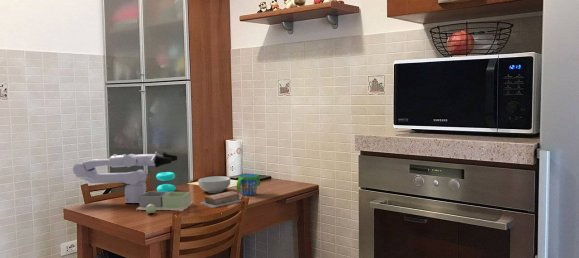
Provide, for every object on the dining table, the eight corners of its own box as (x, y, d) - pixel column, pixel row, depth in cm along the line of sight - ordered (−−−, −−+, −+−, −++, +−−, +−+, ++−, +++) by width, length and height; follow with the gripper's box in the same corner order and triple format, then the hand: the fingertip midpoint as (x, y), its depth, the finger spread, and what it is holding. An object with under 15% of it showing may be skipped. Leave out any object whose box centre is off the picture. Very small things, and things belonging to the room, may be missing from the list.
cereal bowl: (233, 188, 272) (233, 175, 271) (226, 195, 256) (226, 181, 255) (203, 188, 274) (203, 175, 273) (195, 195, 257) (194, 181, 257)
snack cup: (253, 190, 265) (253, 172, 264) (266, 193, 257) (266, 174, 256) (230, 195, 254) (230, 176, 253) (243, 198, 246) (243, 178, 245)
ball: (144, 214, 219) (143, 205, 219) (148, 212, 224) (147, 202, 223) (153, 215, 219) (153, 205, 218) (157, 212, 223) (157, 202, 223)
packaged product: (229, 189, 248) (242, 192, 241) (229, 199, 249) (242, 202, 242) (199, 195, 235) (212, 198, 228) (200, 205, 236) (212, 209, 229)
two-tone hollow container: (136, 210, 227) (135, 197, 227) (148, 203, 241) (147, 191, 240) (182, 211, 225) (182, 198, 224) (192, 203, 238) (191, 191, 238)
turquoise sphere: (170, 171, 274) (178, 173, 266) (171, 188, 275) (178, 191, 267) (153, 173, 268) (160, 175, 260) (154, 191, 269) (161, 194, 261)
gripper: (140, 154, 233) (167, 153, 231) (153, 149, 248) (178, 148, 245) (141, 169, 234) (168, 168, 232) (154, 163, 248) (179, 162, 246)
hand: (174, 159), depth 239 cm, fingers open, 7 cm apart
